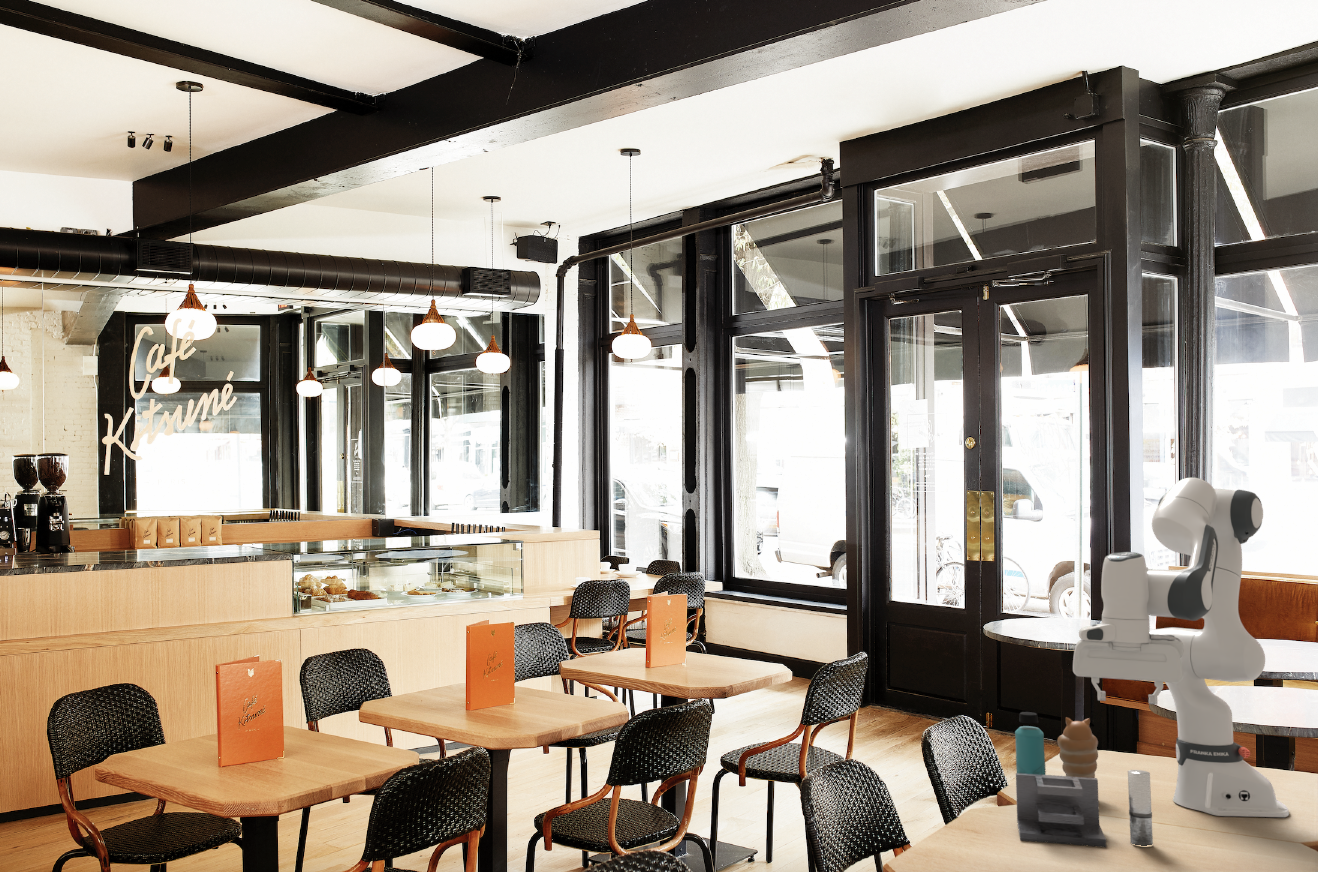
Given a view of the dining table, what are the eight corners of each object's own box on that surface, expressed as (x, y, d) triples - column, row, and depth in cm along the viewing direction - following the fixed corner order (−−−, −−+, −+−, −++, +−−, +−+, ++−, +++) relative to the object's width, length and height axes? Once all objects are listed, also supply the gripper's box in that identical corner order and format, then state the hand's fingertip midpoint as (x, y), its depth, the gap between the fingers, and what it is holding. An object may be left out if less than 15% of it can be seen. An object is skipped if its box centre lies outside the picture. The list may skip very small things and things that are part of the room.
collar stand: (1098, 829, 212) (1096, 777, 212) (1106, 847, 200) (1104, 792, 201) (1017, 823, 216) (1015, 772, 217) (1020, 840, 205) (1018, 787, 206)
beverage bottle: (1049, 806, 228) (1046, 715, 230) (1018, 804, 230) (1015, 714, 231) (1044, 798, 235) (1041, 710, 236) (1014, 797, 236) (1011, 709, 238)
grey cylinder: (1151, 841, 203) (1148, 770, 205) (1155, 848, 199) (1152, 775, 201) (1128, 840, 205) (1125, 769, 206) (1131, 846, 201) (1129, 774, 202)
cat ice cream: (1097, 793, 239) (1094, 715, 240) (1103, 802, 231) (1100, 722, 232) (1057, 791, 241) (1054, 714, 242) (1062, 800, 233) (1059, 720, 234)
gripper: (1181, 634, 205) (1182, 704, 204) (1071, 628, 213) (1072, 696, 211) (1184, 636, 200) (1186, 708, 198) (1072, 631, 207) (1073, 700, 206)
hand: (1127, 702), depth 205 cm, fingers open, 8 cm apart
